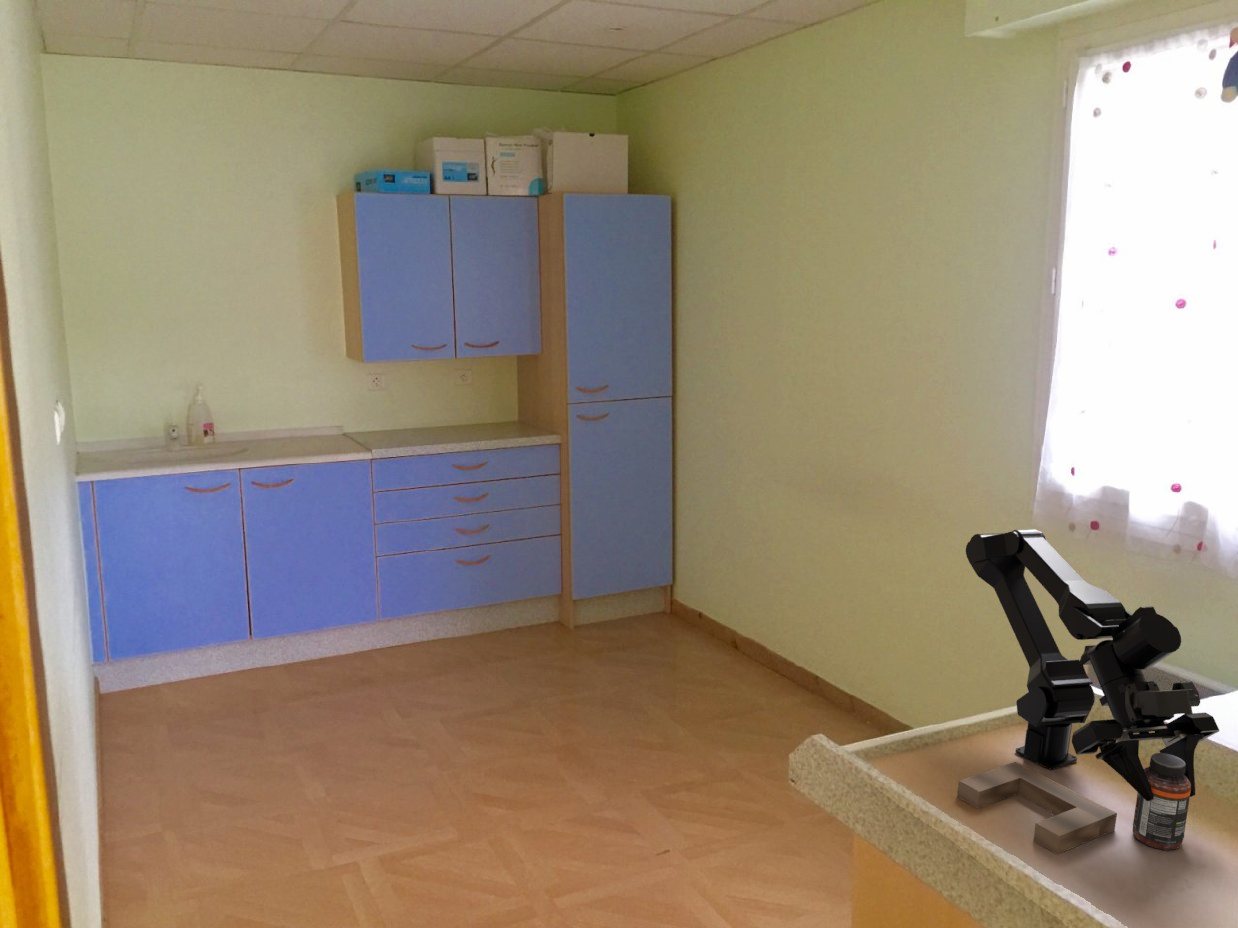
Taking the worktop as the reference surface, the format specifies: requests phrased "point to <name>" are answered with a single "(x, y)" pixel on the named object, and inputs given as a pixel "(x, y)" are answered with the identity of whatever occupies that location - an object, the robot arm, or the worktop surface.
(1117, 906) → the worktop surface
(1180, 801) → the supplement bottle
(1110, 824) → the notched board
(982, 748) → the worktop surface
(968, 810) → the worktop surface
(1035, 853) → the worktop surface
